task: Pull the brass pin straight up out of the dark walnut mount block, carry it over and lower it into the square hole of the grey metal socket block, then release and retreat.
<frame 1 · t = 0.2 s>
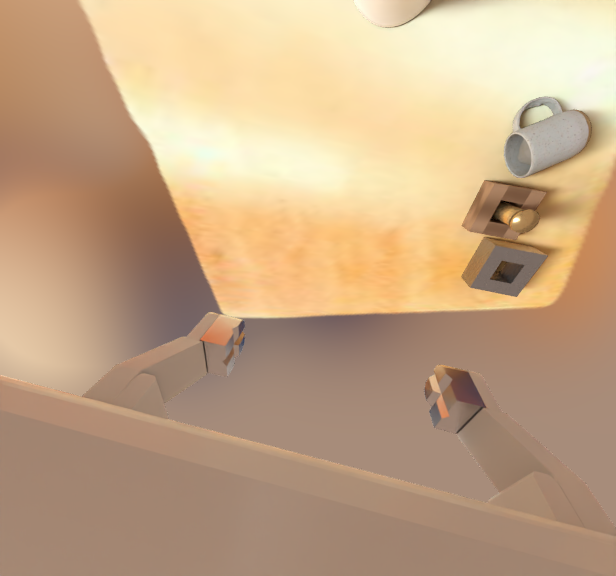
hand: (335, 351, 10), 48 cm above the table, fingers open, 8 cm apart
mount: (495, 208, 48), on the table
pin: (508, 214, 43), in the mount
socket: (494, 262, 53), on the table
ceramic mug: (526, 137, 41), on the table
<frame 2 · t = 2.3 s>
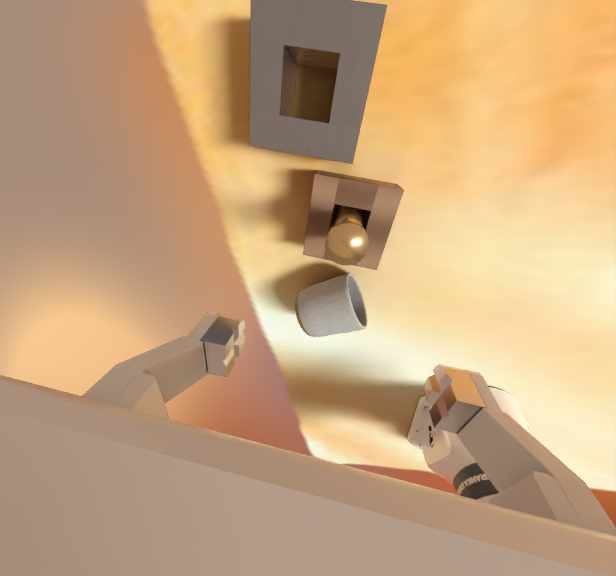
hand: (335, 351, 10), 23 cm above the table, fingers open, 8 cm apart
mount: (349, 216, 29), on the table
pin: (347, 228, 25), in the mount
socket: (316, 96, 24), on the table
ceramic mug: (338, 298, 36), on the table
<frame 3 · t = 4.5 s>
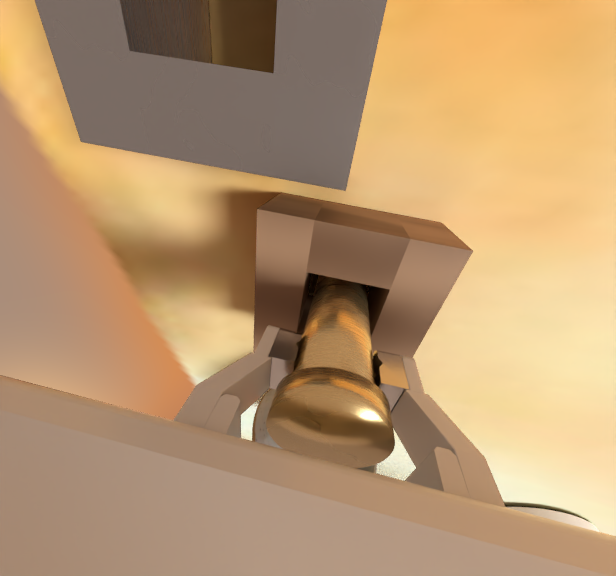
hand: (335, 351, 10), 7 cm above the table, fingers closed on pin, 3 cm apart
mount: (342, 276, 15), on the table
pin: (337, 326, 11), in the mount, touching gripper
socket: (259, 24, 10), on the table
ceramic mug: (329, 393, 23), on the table
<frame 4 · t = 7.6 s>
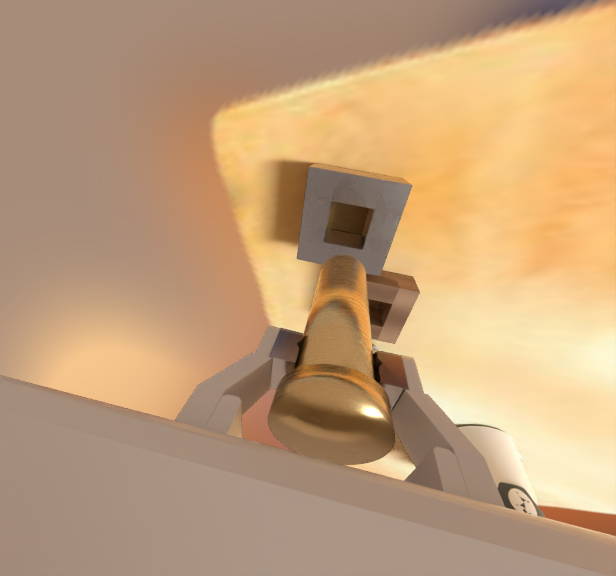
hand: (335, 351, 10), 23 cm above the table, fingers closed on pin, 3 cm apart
mount: (371, 296, 35), on the table
pin: (338, 325, 11), point 21 cm above the table, touching gripper
socket: (348, 214, 29), on the table
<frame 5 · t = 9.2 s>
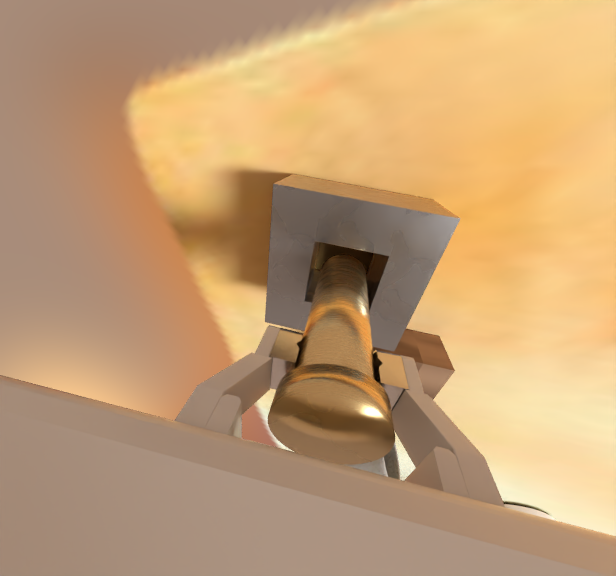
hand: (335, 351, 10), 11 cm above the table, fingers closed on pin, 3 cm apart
mount: (377, 357, 25), on the table
pin: (338, 324, 11), point 10 cm above the table, touching gripper
socket: (345, 251, 19), on the table
ceramic mug: (363, 427, 32), on the table
when the fingers open (8 cm above the table, at t = 10.6 s): pin stays where it is, resting in socket.
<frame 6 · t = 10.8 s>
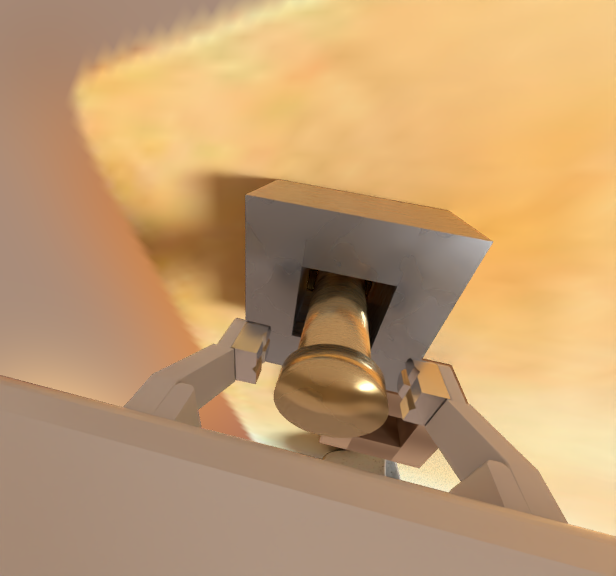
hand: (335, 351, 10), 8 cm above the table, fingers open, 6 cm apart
mount: (379, 385, 22), on the table
pin: (337, 314, 12), in the socket
socket: (342, 269, 16), on the table
ceramic mug: (365, 456, 30), on the table
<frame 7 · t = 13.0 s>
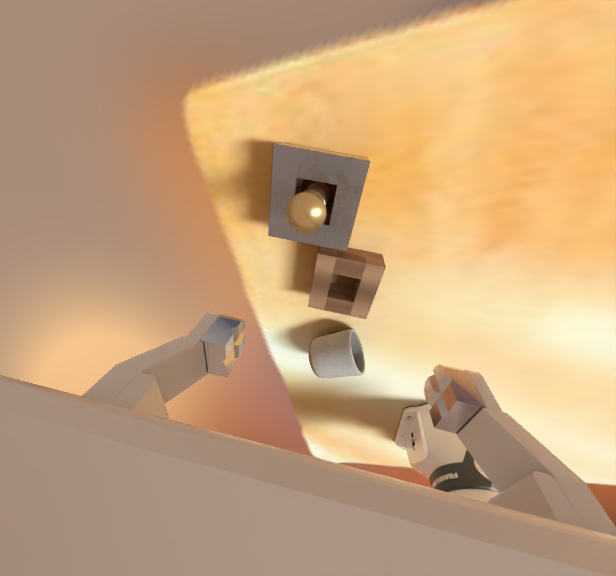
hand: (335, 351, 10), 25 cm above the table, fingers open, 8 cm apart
mount: (344, 274, 36), on the table
pin: (312, 202, 26), in the socket
socket: (318, 193, 31), on the table
ceramic mug: (341, 343, 45), on the table
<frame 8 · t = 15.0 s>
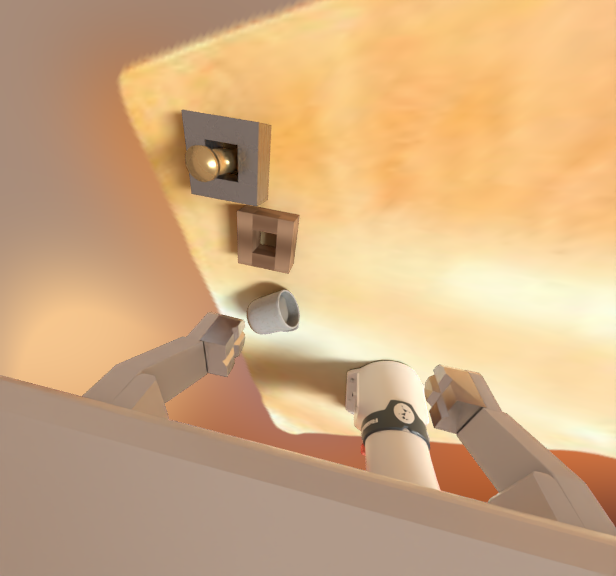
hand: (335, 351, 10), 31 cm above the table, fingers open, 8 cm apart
mount: (271, 235, 41), on the table
pin: (221, 161, 31), in the socket
socket: (237, 159, 36), on the table
ceramic mug: (282, 306, 49), on the table
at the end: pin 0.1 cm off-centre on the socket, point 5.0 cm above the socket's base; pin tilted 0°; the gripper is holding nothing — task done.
